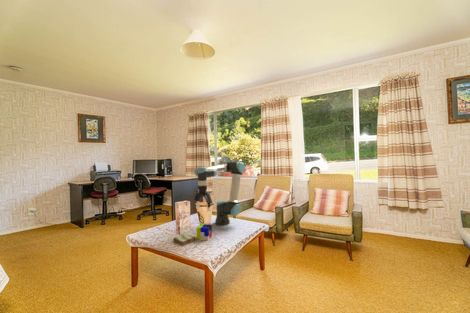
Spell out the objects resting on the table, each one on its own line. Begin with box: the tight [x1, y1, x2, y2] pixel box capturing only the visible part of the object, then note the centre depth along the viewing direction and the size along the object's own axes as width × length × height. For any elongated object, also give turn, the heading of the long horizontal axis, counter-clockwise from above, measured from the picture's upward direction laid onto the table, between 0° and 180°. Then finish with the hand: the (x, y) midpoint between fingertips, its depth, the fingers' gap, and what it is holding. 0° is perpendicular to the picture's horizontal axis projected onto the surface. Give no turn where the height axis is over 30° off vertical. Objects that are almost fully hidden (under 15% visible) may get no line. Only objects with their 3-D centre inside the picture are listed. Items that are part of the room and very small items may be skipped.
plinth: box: [172, 233, 197, 246], centre depth 180 cm, size 13×13×3 cm
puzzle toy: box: [196, 223, 213, 241], centre depth 186 cm, size 10×10×10 cm
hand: (203, 209), depth 185 cm, fingers open, 13 cm apart
